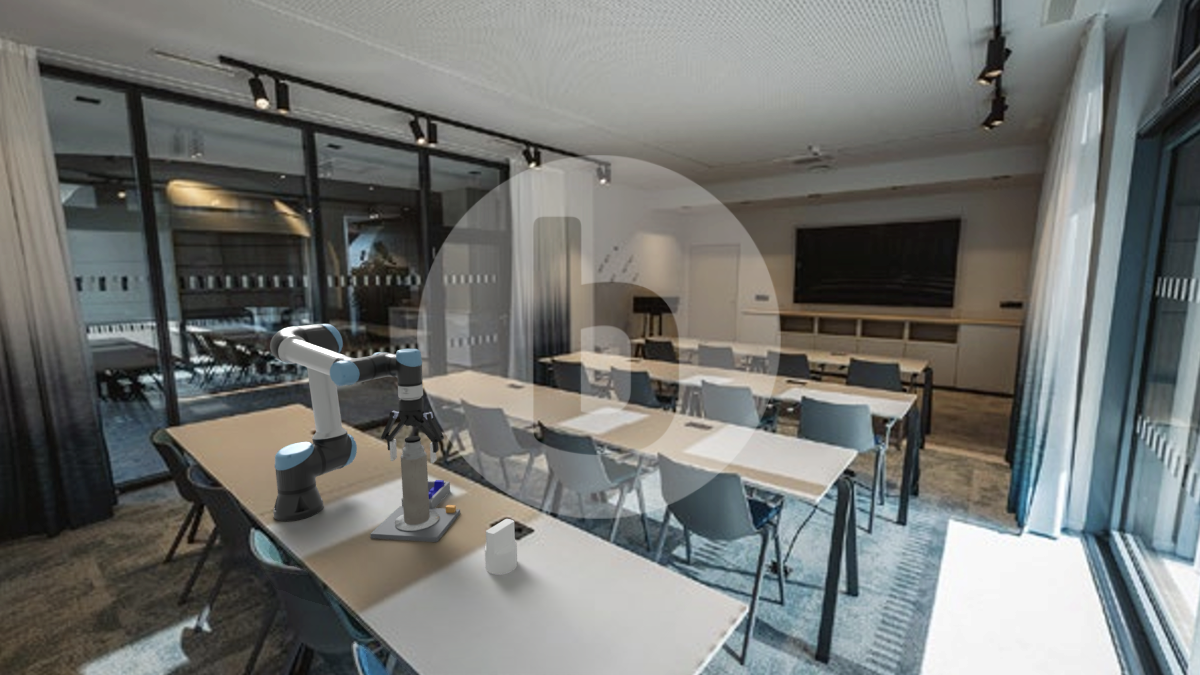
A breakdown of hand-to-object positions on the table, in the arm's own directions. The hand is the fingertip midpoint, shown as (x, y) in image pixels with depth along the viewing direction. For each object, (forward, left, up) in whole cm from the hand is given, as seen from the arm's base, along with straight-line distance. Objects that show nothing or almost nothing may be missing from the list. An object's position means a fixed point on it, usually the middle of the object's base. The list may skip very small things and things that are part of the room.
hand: (413, 460), depth 167 cm
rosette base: (0, 0, -22) cm, 22 cm away
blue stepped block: (-3, +17, -23) cm, 28 cm away
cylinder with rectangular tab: (+35, -20, -23) cm, 46 cm away
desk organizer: (-5, +18, -22) cm, 29 cm away
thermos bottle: (0, 0, -20) cm, 20 cm away
